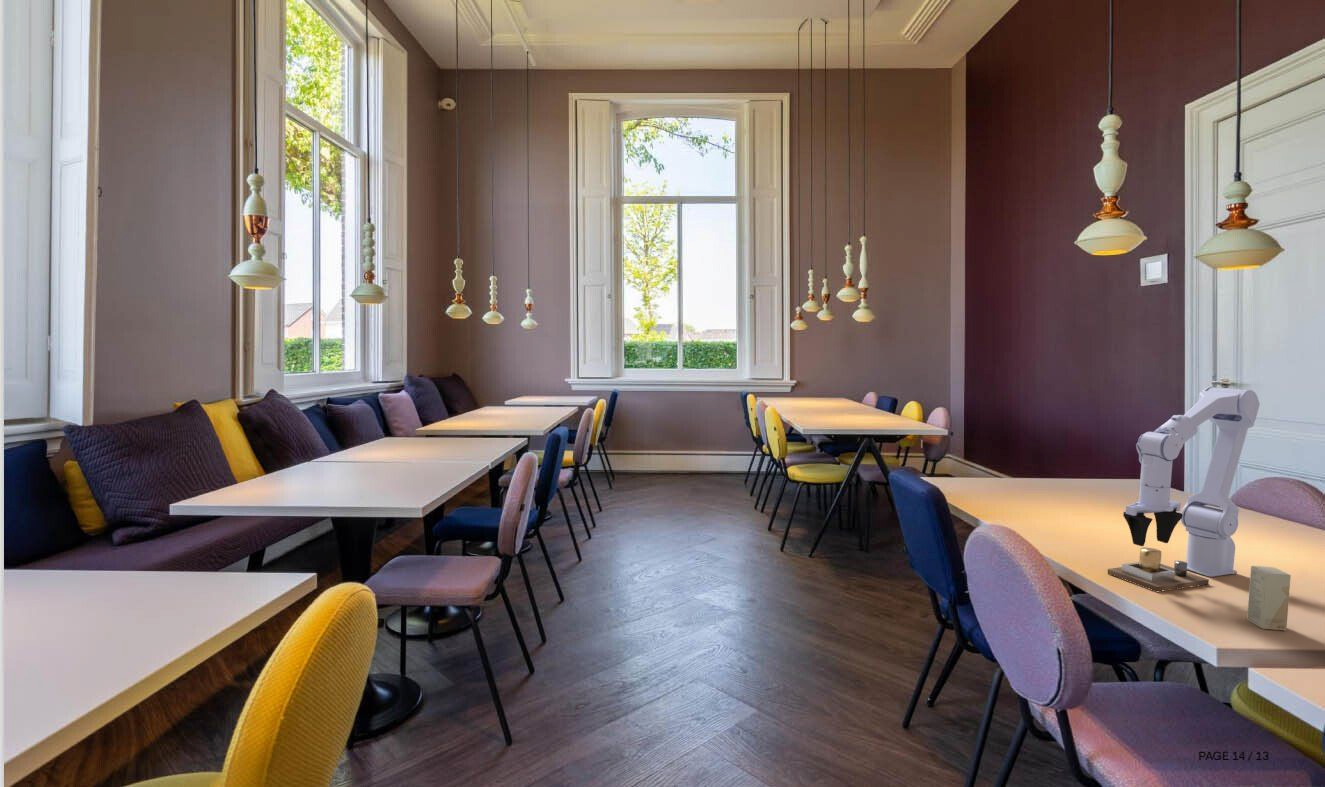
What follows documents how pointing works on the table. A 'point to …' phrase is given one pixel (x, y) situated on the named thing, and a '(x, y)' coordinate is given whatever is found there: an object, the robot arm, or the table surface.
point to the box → (1268, 597)
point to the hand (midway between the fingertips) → (1150, 543)
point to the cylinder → (1150, 560)
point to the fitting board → (1159, 576)
